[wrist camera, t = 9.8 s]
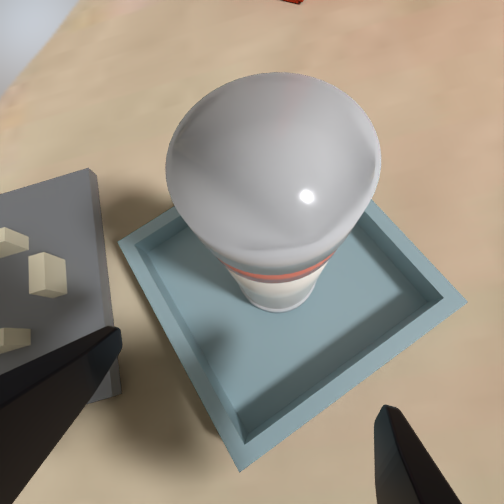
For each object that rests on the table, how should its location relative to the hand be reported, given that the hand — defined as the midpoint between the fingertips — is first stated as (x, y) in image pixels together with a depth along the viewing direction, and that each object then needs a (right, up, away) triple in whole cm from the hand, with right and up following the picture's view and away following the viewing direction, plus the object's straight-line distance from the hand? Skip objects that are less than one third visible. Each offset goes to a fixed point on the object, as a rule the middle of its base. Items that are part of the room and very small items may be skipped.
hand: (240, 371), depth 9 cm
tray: (+2, +2, +9) cm, 9 cm away
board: (-15, +1, +10) cm, 19 cm away
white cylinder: (+2, +2, +8) cm, 9 cm away
